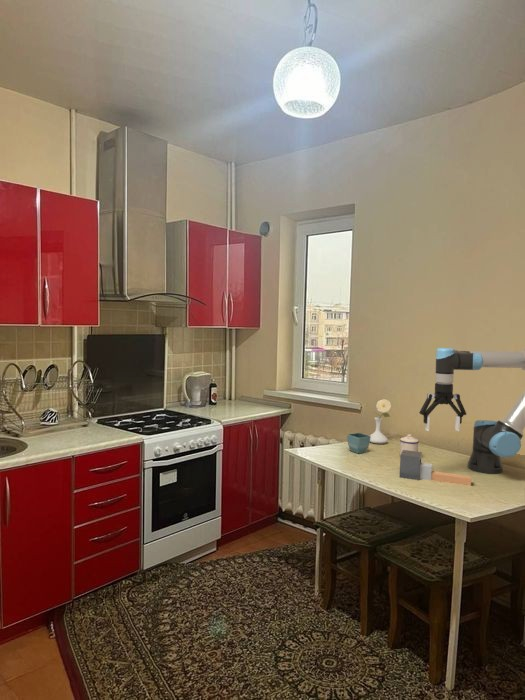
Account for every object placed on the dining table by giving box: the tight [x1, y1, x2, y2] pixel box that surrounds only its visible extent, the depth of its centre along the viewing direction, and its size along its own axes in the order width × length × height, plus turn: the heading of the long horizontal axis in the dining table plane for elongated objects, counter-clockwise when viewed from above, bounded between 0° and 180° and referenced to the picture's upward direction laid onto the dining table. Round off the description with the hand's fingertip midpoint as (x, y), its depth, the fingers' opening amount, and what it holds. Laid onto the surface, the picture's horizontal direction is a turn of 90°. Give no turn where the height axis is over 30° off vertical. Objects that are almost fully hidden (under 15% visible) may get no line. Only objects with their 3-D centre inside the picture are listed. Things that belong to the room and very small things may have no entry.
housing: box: [399, 450, 423, 481], centre depth 223 cm, size 8×10×10 cm
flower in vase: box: [369, 398, 392, 444], centre depth 280 cm, size 13×11×25 cm
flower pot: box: [346, 432, 371, 454], centre depth 260 cm, size 9×9×9 cm
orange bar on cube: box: [419, 461, 472, 487], centre depth 218 cm, size 22×5×6 cm, turn 67°
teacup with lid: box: [399, 433, 420, 457], centre depth 254 cm, size 12×9×12 cm
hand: (442, 430), depth 223 cm, fingers open, 13 cm apart
